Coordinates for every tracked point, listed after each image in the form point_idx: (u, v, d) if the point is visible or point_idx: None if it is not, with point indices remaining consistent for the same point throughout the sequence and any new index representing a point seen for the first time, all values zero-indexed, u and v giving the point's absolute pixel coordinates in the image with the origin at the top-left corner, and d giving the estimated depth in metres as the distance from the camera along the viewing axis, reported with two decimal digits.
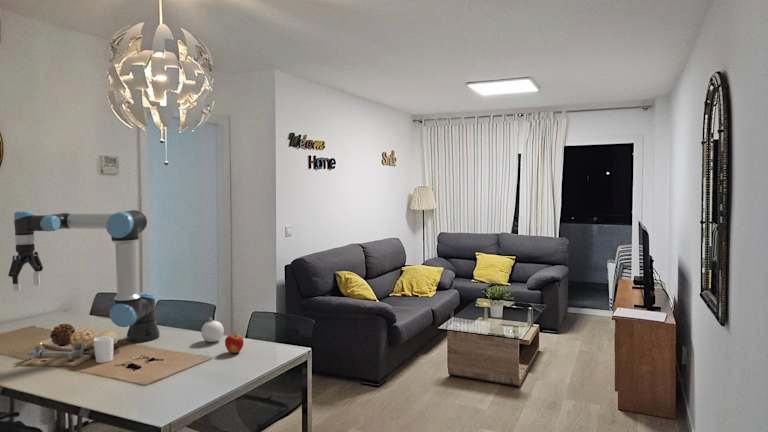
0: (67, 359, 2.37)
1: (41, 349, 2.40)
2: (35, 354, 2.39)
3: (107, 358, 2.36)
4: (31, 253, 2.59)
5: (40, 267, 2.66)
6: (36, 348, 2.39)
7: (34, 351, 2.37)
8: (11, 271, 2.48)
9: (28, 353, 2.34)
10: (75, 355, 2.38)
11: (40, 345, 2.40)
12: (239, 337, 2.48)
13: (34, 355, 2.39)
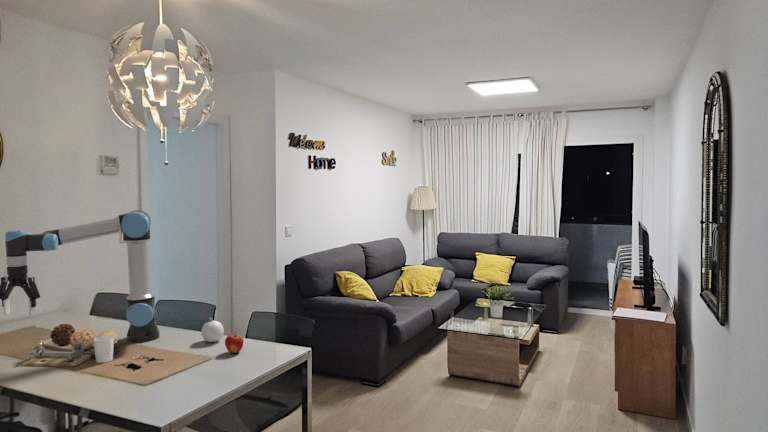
0: (67, 359, 2.37)
1: (41, 349, 2.40)
2: (35, 354, 2.39)
3: (107, 358, 2.36)
4: (21, 277, 2.37)
5: None
6: (36, 348, 2.39)
7: (34, 351, 2.37)
8: None
9: (28, 353, 2.34)
10: (75, 355, 2.38)
11: (40, 345, 2.40)
12: (239, 337, 2.48)
13: (34, 355, 2.39)
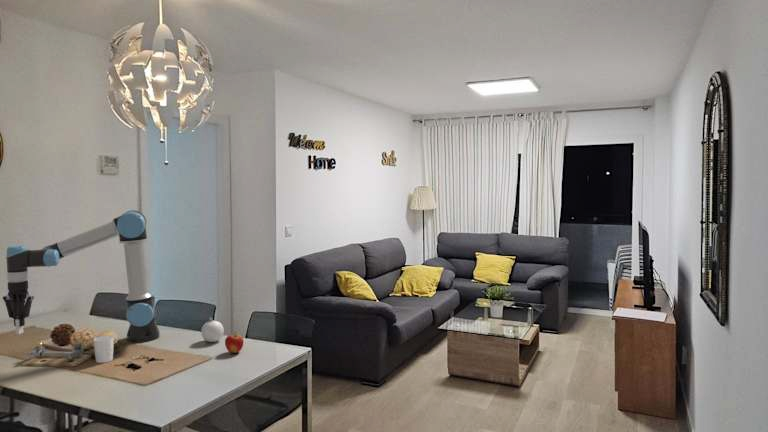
0: (67, 359, 2.37)
1: (41, 349, 2.40)
2: (35, 354, 2.39)
3: (107, 358, 2.36)
4: (23, 292, 2.38)
5: (23, 314, 2.39)
6: (36, 348, 2.39)
7: (34, 351, 2.37)
8: None
9: (28, 353, 2.34)
10: (75, 355, 2.38)
11: (40, 345, 2.40)
12: (239, 337, 2.48)
13: (34, 355, 2.39)
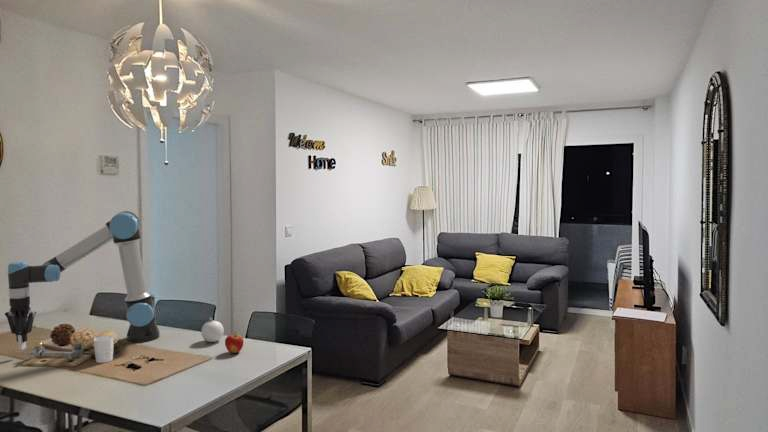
0: (67, 359, 2.37)
1: (41, 349, 2.40)
2: (35, 354, 2.39)
3: (107, 358, 2.36)
4: (25, 308, 2.38)
5: (25, 330, 2.39)
6: (36, 348, 2.39)
7: (34, 351, 2.37)
8: None
9: (28, 353, 2.34)
10: (75, 355, 2.38)
11: (40, 345, 2.40)
12: (239, 337, 2.48)
13: (34, 355, 2.39)
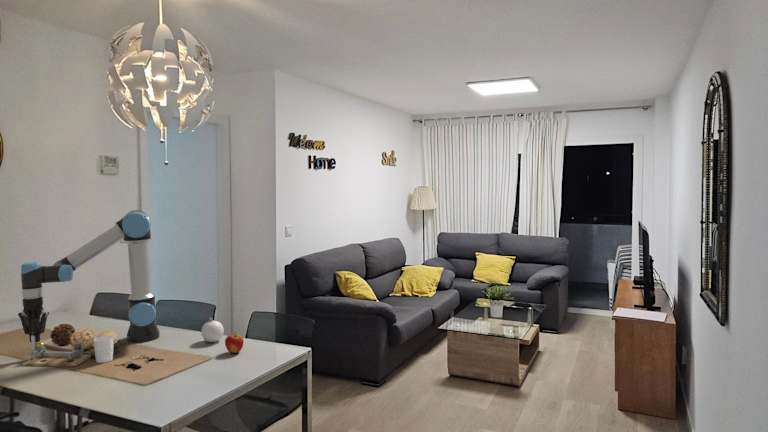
0: (67, 359, 2.37)
1: (42, 349, 2.40)
2: (36, 354, 2.39)
3: (107, 358, 2.36)
4: (38, 308, 2.38)
5: (38, 330, 2.39)
6: (37, 348, 2.39)
7: (35, 351, 2.37)
8: None
9: (29, 353, 2.34)
10: (75, 355, 2.38)
11: (41, 345, 2.40)
12: (239, 337, 2.48)
13: (35, 355, 2.39)
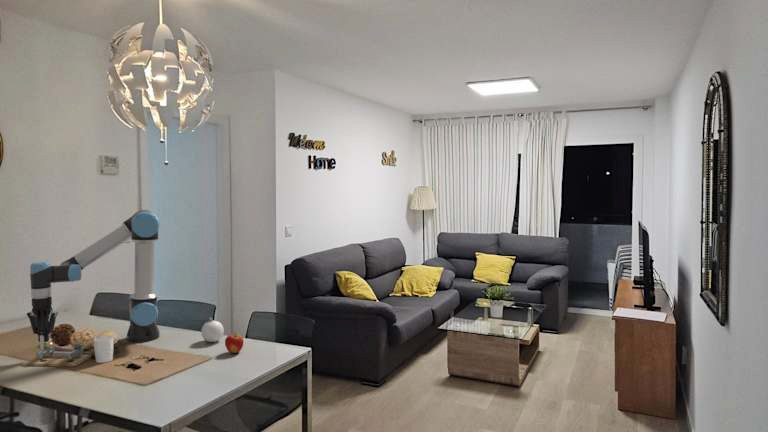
0: (67, 359, 2.37)
1: (51, 349, 2.40)
2: (45, 354, 2.38)
3: (107, 358, 2.36)
4: (47, 308, 2.38)
5: None
6: (46, 348, 2.39)
7: (44, 351, 2.37)
8: None
9: (38, 353, 2.34)
10: (75, 355, 2.38)
11: (50, 345, 2.39)
12: (239, 337, 2.48)
13: (44, 355, 2.39)
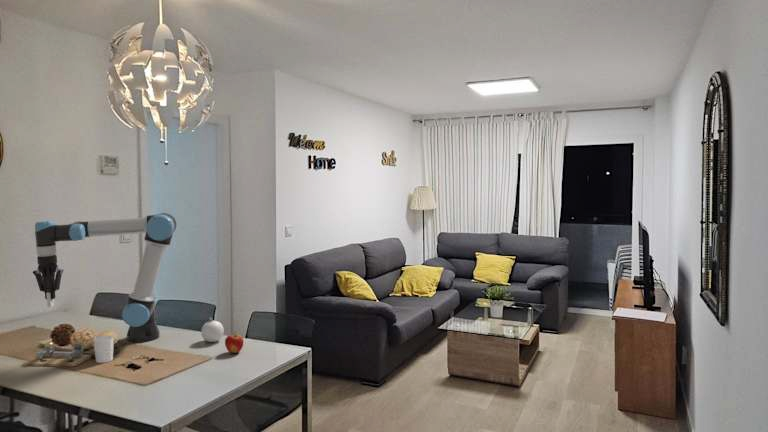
0: (67, 359, 2.37)
1: (51, 349, 2.40)
2: (45, 354, 2.38)
3: (107, 358, 2.36)
4: (52, 266, 2.44)
5: (54, 287, 2.45)
6: (46, 348, 2.39)
7: (44, 351, 2.37)
8: None
9: (39, 353, 2.34)
10: (75, 355, 2.38)
11: (50, 345, 2.39)
12: (239, 337, 2.48)
13: (44, 355, 2.39)
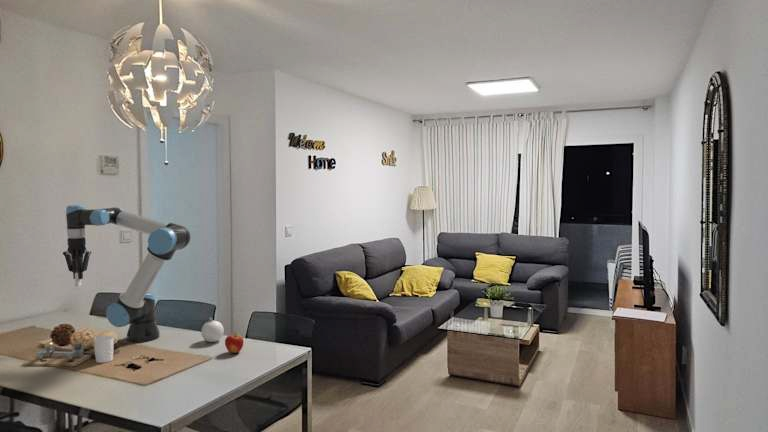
0: (67, 359, 2.37)
1: (51, 349, 2.40)
2: (45, 354, 2.38)
3: (107, 358, 2.36)
4: (81, 247, 2.58)
5: (82, 268, 2.59)
6: (46, 348, 2.39)
7: (44, 351, 2.37)
8: None
9: (39, 353, 2.34)
10: (75, 355, 2.38)
11: (50, 345, 2.39)
12: (239, 337, 2.48)
13: (44, 355, 2.39)
